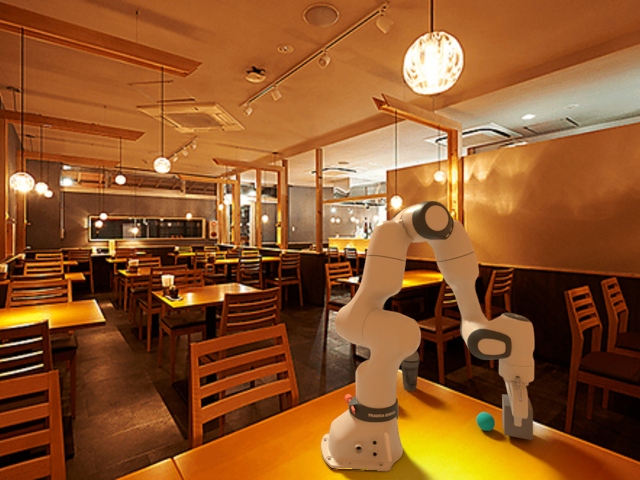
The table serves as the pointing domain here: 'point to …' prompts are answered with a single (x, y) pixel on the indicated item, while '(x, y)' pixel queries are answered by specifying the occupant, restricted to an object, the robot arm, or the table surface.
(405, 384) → the beverage cup
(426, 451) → the table surface
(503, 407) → the matte grey cube
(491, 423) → the ball
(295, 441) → the table surface
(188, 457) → the table surface
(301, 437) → the table surface
